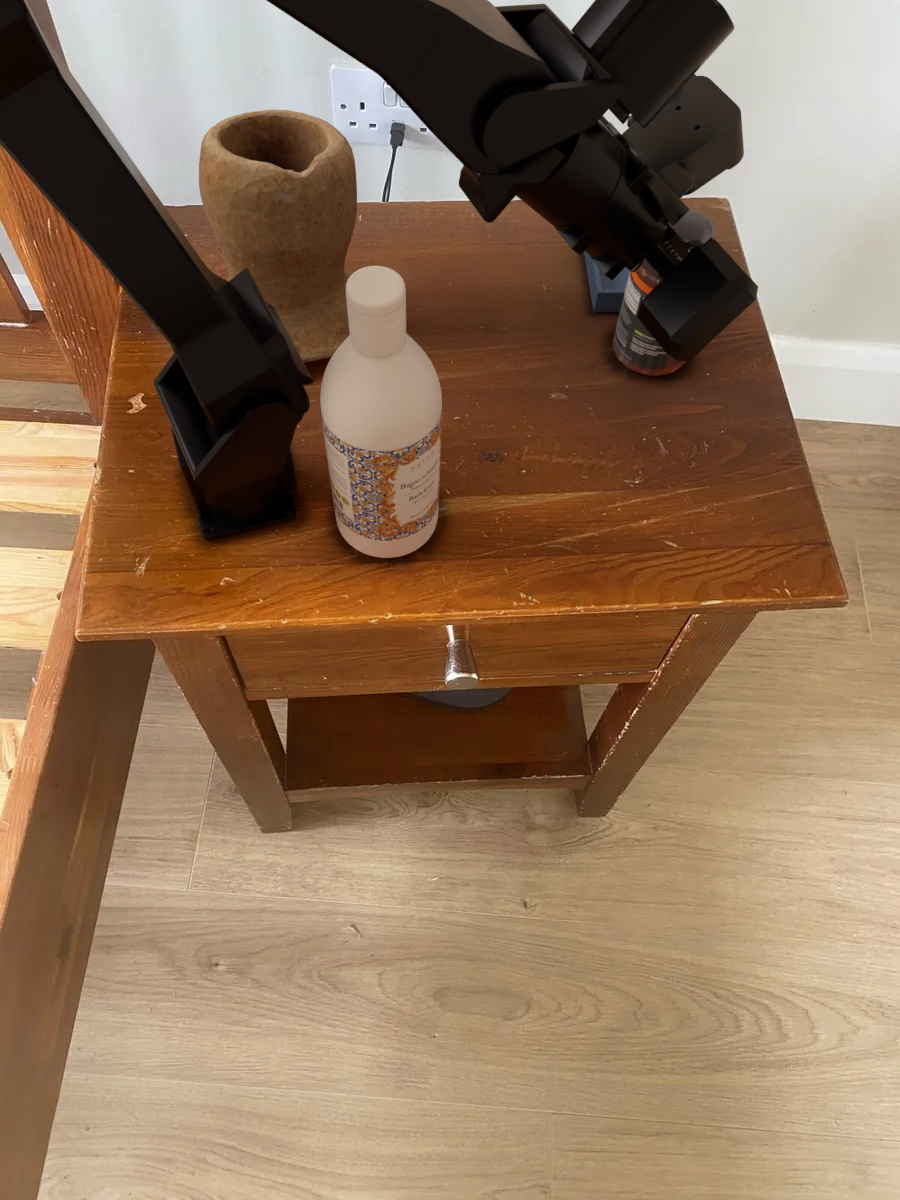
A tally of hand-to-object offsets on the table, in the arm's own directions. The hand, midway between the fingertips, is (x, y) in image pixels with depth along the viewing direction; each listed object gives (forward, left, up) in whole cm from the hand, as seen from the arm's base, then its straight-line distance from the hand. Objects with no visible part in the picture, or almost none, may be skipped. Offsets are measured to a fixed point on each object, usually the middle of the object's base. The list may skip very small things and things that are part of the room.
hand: (686, 278), depth 63 cm
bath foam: (-25, -9, -7) cm, 28 cm away
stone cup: (-28, +10, -7) cm, 31 cm away
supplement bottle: (-1, 0, -7) cm, 7 cm away
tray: (+1, +8, -7) cm, 10 cm away
